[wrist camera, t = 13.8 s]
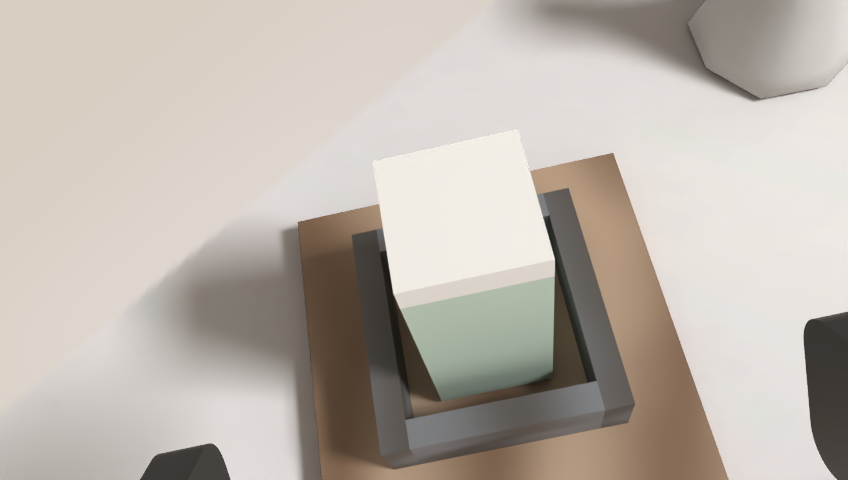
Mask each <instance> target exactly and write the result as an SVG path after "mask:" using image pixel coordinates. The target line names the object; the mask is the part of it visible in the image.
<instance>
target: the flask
mask: <svg viewBox="0 0 848 480" xmlns="http://www.w3.org/2000/svg"><path fill="white" fill-rule="evenodd" d="M687 24H688V26H689V28H690V31H691V33H692V36H693V38H694V40H695V43H696V45H697V48H698V50H699V52H700V55H701V57H702V60H703V62H704V64H705V67H706V68H707V69H709V70H711V71H712V72H714V73H716V74H718V75H719V76H721V77H723V78H725V79H726V80H728V81H730V82H732V83H734V84H735V85H737V86H739V87H741V88H742V89H744V90H746V91H748V92H749V93H751V94H753V95H755V96H757V97H758V98H760V99H763V98H769V97H774V96H779V95H784V94H789V93H794V92H799V91H804V90H809V89H814V88H820V87H825V86H827V85H828V84H829V83H830V82H831V81H832V80H833V78H834V77H835V76H836V75H837V74H838V73H839V72H840V71H841V70H842V69H843V68H844V67H845V66H846V65H847V63H848V0H705V1H704V3H703V4H702V5H701V6H700V7H699V9H698V10H697V11H696V12H695V14H694V15H693V16H692V18H691V19H690V20H689V21H688V23H687Z"/></svg>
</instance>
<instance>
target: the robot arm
mask: <svg viewBox="0 0 848 480" xmlns="http://www.w3.org/2000/svg"><path fill="white" fill-rule="evenodd" d="M804 350H805V361H806V373H807V385H808V397H809V408H810V420H811V428H812V433H813V437H814V441H815V443H816V446H817V449H818V451H819V454H820V456H821V458H822V460H823V461H824V463H825V465H826V466H827V468H828V469H829V471H830V472H831V473H832V474H833V476H834V477H835V478H836V479H837V480H848V312H844V313H840V314H835V315H830V316H825V317H820V318H816V319H811V320H809V321H808V322H807V324H806V326H805V329H804ZM140 480H230V477H229V474H228V471H227V468H226V465H225V462H224V459H223V457H222V455H221V453H220V451H219V449H218V448H217V447H216V446H215V445H214V444H205V445H200V446H195V447H190V448H186V449H181V450H176V451H171V452H166V453H162V454H158V455H156V456H155V457H154V458H153V459H152V461H151V463H150V464H149V466H148V468H147V469H146V471H145V473H144V474H143V476H142V478H141V479H140Z"/></svg>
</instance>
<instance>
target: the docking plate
mask: <svg viewBox="0 0 848 480" xmlns="http://www.w3.org/2000/svg"><path fill="white" fill-rule="evenodd" d="M530 173H531V176H532V180H533V184H534V187H535V191H536V194H537V198H538V201H539V205H540V208H541V212H542V215H543V219H544V222H545V226H546V229H547V233H548V237H549V240H550V244H551V247H552V251H553V254H554V258H555V286H554V337H553V379H549V380H544V381H540V382H535V383H530V384H525V385H520V386H515V387H510V388H505V389H501V390H496V391H491V392H486V393H481V394H476V395H471V396H467V397H462V398H457V399H452V400H447V401H441V398H440V396H439V394H438V392H437V390H436V387H435V385H434V383H433V381H432V378H431V376H430V374H429V372H428V370H427V367H426V365H425V363H424V361H423V359H422V356H421V354H420V352H419V350H418V347H417V345H416V343H415V341H414V339H413V336H412V334H411V332H410V330H409V328H408V325H407V323H406V321H405V319H404V317H403V314H402V312H401V310H400V308H399V305H398V303H397V301H396V299H395V297H394V294H393V289H392V282H391V276H390V270H389V263H388V257H387V251H386V244H385V238H384V232H383V225H382V219H381V213H380V206H379V204H378V205H373V206H369V207H364V208H360V209H355V210H350V211H346V212H341V213H337V214H332V215H328V216H323V217H319V218H314V219H309V220H305V221H300V222H298V228H299V239H300V250H301V261H302V271H303V282H304V293H305V304H306V315H307V326H308V336H309V347H310V358H311V369H312V380H313V391H314V401H315V412H316V423H317V434H318V445H319V455H320V466H321V477H322V480H729V479H728V477H727V474H726V471H725V468H724V465H723V462H722V460H721V457H720V454H719V451H718V448H717V446H716V443H715V440H714V437H713V434H712V431H711V429H710V426H709V423H708V420H707V417H706V414H705V412H704V409H703V406H702V403H701V400H700V397H699V395H698V392H697V389H696V386H695V383H694V380H693V378H692V375H691V372H690V369H689V366H688V363H687V361H686V358H685V355H684V352H683V349H682V347H681V344H680V341H679V338H678V335H677V332H676V330H675V327H674V324H673V321H672V318H671V315H670V313H669V310H668V307H667V304H666V301H665V298H664V296H663V293H662V290H661V287H660V284H659V281H658V279H657V276H656V273H655V270H654V267H653V265H652V262H651V259H650V256H649V253H648V250H647V248H646V245H645V242H644V239H643V236H642V233H641V231H640V228H639V225H638V222H637V219H636V216H635V214H634V211H633V208H632V205H631V202H630V199H629V197H628V194H627V191H626V188H625V185H624V183H623V180H622V177H621V174H620V171H619V168H618V166H617V163H616V160H615V157H614V154H613V153H611V154H606V155H602V156H597V157H593V158H588V159H583V160H579V161H574V162H570V163H565V164H561V165H556V166H551V167H547V168H542V169H538V170H533V171H530Z"/></svg>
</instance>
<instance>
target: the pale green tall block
mask: <svg viewBox="0 0 848 480" xmlns="http://www.w3.org/2000/svg"><path fill="white" fill-rule="evenodd" d="M372 162H373V168H374V175H375V181H376V187H377V194H378V200H379V206H380V213H381V219H382V225H383V232H384V238H385V244H386V251H387V257H388V263H389V270H390V276H391V282H392V289H393V294H394V297H395V299H396V301H397V303H398V305H399V308H400V310H401V312H402V314H403V317H404V319H405V321H406V323H407V325H408V328H409V330H410V332H411V334H412V336H413V339H414V341H415V343H416V345H417V347H418V350H419V352H420V354H421V356H422V359H423V361H424V363H425V365H426V367H427V370H428V372H429V374H430V376H431V378H432V381H433V383H434V385H435V387H436V390H437V392H438V394H439V396H440V398H441V401H447V400H452V399H457V398H462V397H467V396H471V395H476V394H481V393H486V392H491V391H496V390H501V389H505V388H510V387H515V386H520V385H525V384H530V383H535V382H540V381H544V380H549V379H553V337H554V286H555V258H554V254H553V251H552V247H551V244H550V240H549V237H548V233H547V229H546V226H545V222H544V219H543V215H542V212H541V208H540V205H539V201H538V198H537V194H536V191H535V187H534V184H533V180H532V176H531V173H530V169H529V166H528V162H527V159H526V155H525V152H524V148H523V145H522V141H521V138H520V134H519V131H518V129H515V130H511V131H506V132H502V133H497V134H493V135H488V136H484V137H480V138H475V139H471V140H466V141H462V142H457V143H453V144H448V145H444V146H439V147H435V148H430V149H426V150H421V151H417V152H412V153H408V154H403V155H399V156H394V157H390V158H385V159H381V160H376V161H372Z"/></svg>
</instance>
